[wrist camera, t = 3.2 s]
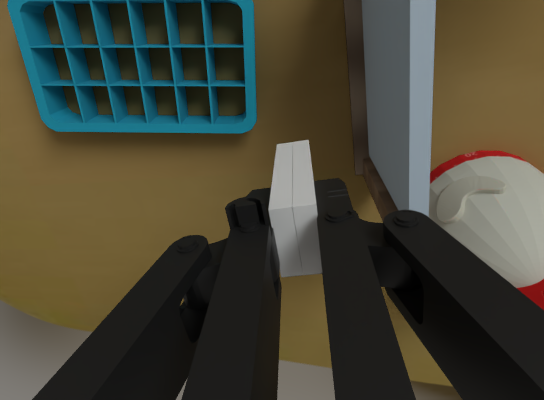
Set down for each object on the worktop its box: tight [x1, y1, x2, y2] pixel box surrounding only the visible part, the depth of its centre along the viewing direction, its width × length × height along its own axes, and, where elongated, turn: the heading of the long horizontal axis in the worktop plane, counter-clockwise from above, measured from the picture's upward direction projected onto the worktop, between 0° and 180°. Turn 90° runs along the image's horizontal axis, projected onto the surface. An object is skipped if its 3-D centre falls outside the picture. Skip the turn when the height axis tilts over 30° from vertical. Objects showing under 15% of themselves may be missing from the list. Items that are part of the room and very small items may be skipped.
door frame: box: [344, 0, 399, 221], centre depth 25 cm, size 22×4×16 cm, turn 9°
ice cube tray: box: [7, 0, 257, 133], centre depth 32 cm, size 12×20×3 cm, turn 90°
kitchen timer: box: [429, 151, 544, 310], centre depth 32 cm, size 14×14×15 cm
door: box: [362, 0, 436, 217], centre depth 26 cm, size 15×3×14 cm, turn 9°
